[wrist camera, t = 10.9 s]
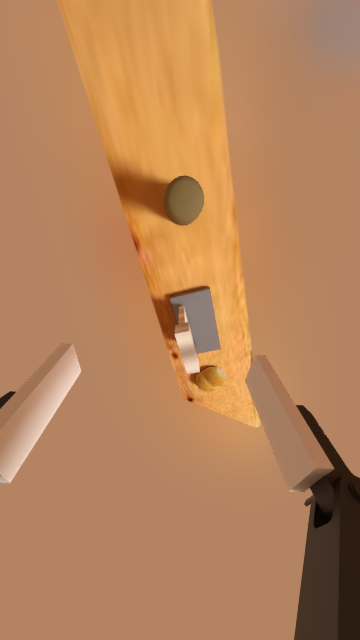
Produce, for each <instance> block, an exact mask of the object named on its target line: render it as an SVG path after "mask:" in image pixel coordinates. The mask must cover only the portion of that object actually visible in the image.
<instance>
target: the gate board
mask: <svg viewBox="0 0 360 640" xmlns="http://www.w3.org/2000/svg"><path fill="white" fill-rule="evenodd" d="M170 301H171V304H172V308H173V311H174V314H175V317H176V321H177V324H179V307H180V306H184V308H185V312H186V316H187V319H188V322H189V326H190V330H191V334H192V338H193V341H194V342H195V345H196V353H197V354H198V353H203V352H208V351H213V350H219V349H221V348H220V343H219V337H218V332H217V326H216V320H215V315H214V309H213V303H212V298H211V292H210V288H209V287H206V288H202V289H198V290H194V291H190V292H185V293H181V294H177V295H173V296H170Z"/></svg>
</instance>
